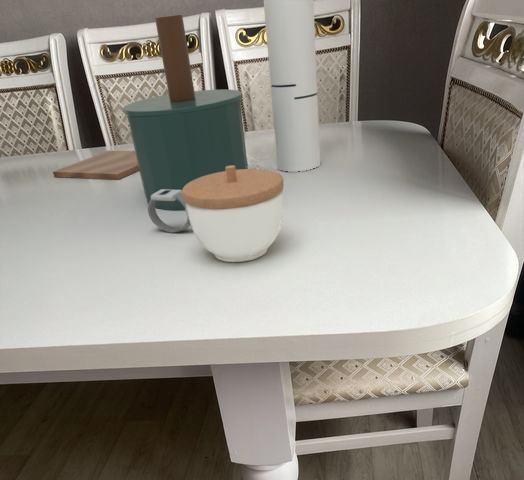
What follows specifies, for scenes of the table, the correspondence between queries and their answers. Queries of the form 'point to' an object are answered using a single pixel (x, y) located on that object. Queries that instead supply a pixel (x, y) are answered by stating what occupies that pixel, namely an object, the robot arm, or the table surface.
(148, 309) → the table surface
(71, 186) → the table surface
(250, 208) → the trinket box
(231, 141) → the canister
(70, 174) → the board
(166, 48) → the lid
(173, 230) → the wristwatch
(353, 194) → the table surface
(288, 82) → the cylindrical container
